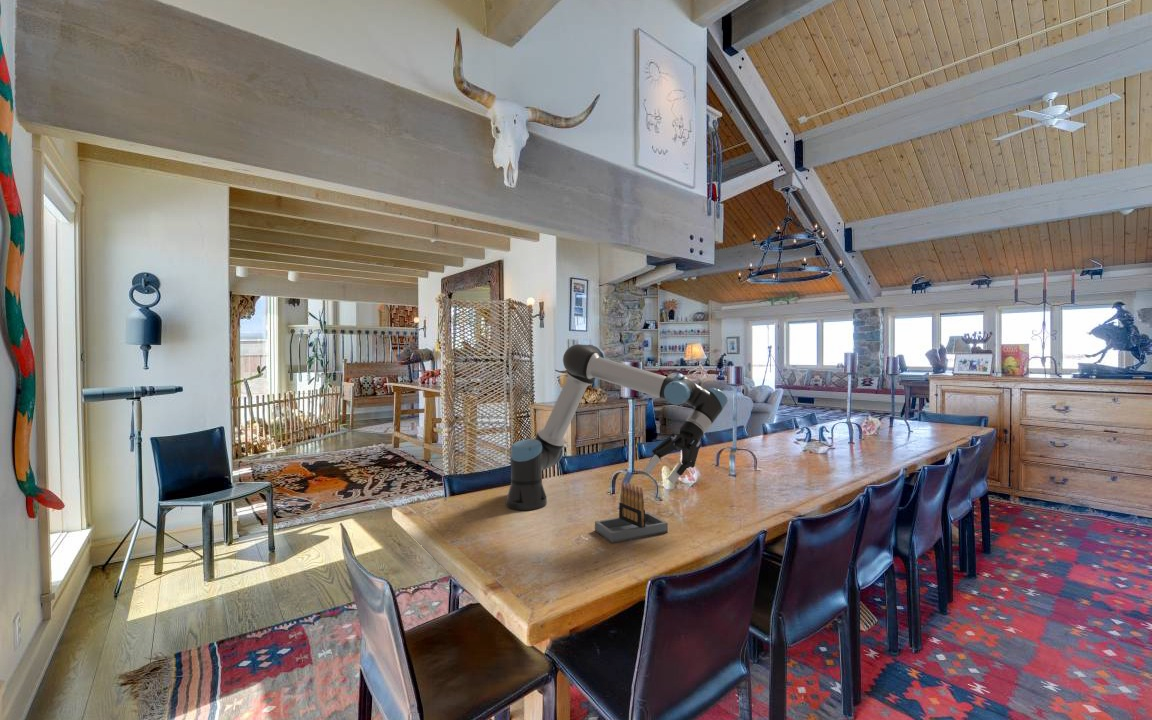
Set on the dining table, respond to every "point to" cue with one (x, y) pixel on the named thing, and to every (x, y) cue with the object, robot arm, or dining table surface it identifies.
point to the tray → (630, 528)
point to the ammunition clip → (632, 505)
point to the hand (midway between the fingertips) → (657, 476)
